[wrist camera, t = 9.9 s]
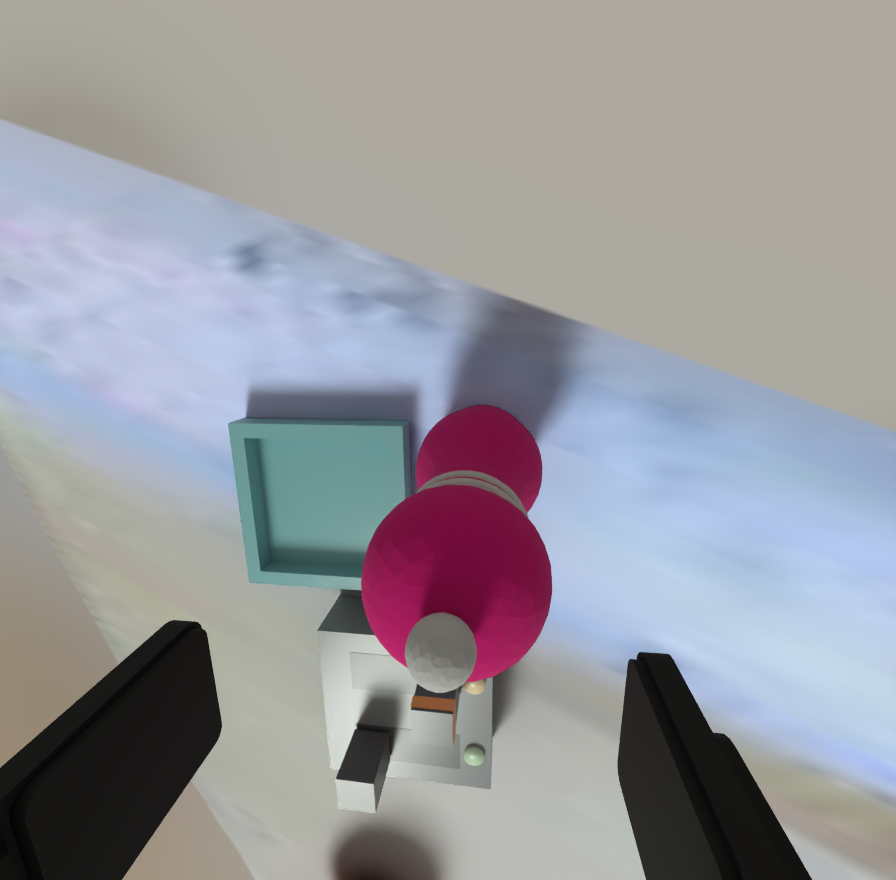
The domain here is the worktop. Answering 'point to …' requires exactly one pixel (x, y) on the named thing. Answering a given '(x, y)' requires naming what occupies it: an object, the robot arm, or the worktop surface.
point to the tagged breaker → (434, 717)
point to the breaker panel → (395, 705)
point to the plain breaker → (363, 771)
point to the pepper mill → (462, 555)
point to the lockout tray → (316, 494)
